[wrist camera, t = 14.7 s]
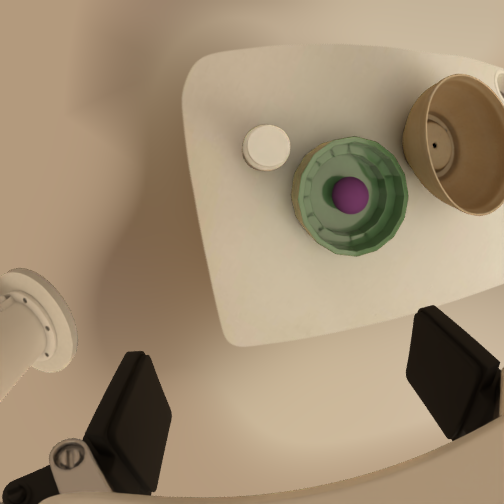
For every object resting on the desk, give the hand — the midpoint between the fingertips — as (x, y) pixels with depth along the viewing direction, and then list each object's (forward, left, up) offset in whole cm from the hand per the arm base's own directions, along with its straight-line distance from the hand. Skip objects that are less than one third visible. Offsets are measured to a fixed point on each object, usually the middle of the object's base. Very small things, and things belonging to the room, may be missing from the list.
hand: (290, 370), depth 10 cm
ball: (+4, +11, -26) cm, 28 cm away
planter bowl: (+6, +26, -28) cm, 39 cm away
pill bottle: (-6, +6, -28) cm, 30 cm away
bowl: (+4, +11, -28) cm, 31 cm away
